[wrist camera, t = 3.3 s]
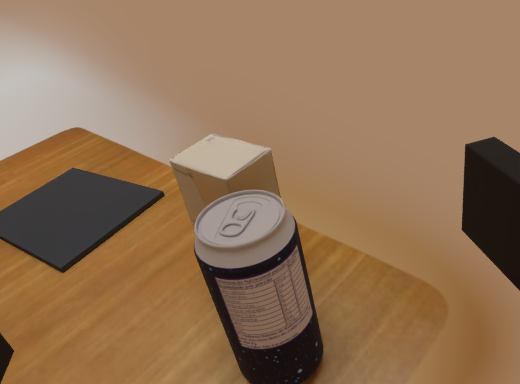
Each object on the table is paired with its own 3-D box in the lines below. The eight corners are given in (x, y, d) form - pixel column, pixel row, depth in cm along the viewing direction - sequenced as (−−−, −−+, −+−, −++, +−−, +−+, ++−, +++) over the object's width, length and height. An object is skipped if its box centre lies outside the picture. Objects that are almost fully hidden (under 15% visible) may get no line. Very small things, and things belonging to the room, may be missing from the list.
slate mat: (164, 195, 51) (163, 191, 51) (63, 272, 42) (60, 268, 42) (74, 171, 63) (72, 167, 62) (-19, 227, 54) (-22, 224, 54)
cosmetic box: (211, 284, 36) (163, 158, 30) (246, 253, 39) (208, 131, 32) (266, 316, 32) (224, 178, 26) (302, 279, 34) (272, 145, 28)
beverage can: (335, 333, 30) (307, 187, 23) (308, 410, 25) (266, 259, 19) (261, 317, 32) (218, 183, 26) (226, 385, 28) (165, 244, 22)
